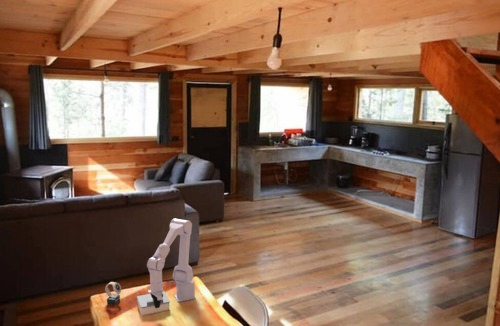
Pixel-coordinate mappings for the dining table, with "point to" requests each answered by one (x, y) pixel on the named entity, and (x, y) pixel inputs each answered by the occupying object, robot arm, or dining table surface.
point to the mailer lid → (151, 300)
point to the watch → (113, 298)
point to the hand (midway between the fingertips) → (157, 307)
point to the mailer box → (153, 309)
